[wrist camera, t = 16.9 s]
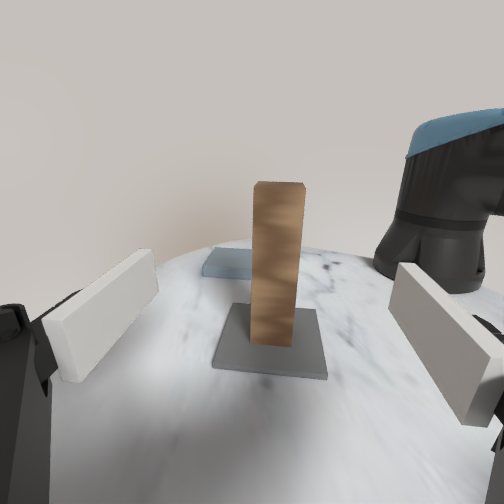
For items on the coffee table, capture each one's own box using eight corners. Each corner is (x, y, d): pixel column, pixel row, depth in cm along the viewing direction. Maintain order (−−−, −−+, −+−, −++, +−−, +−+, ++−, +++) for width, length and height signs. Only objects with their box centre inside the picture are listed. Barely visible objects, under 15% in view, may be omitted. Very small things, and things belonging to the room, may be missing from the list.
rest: (314, 313, 32) (315, 309, 32) (327, 380, 23) (328, 374, 23) (232, 306, 33) (232, 302, 33) (212, 368, 24) (212, 362, 24)
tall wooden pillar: (290, 322, 30) (302, 182, 24) (291, 347, 26) (305, 189, 20) (254, 319, 30) (258, 181, 25) (250, 343, 26) (253, 187, 21)
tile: (268, 282, 40) (271, 262, 48) (269, 269, 39) (271, 250, 47) (203, 278, 41) (215, 258, 49) (202, 265, 40) (215, 247, 48)
